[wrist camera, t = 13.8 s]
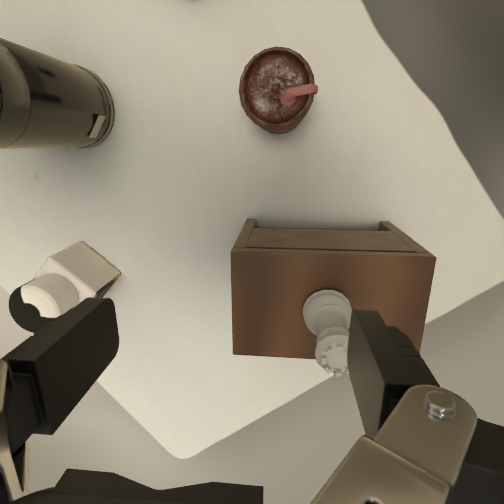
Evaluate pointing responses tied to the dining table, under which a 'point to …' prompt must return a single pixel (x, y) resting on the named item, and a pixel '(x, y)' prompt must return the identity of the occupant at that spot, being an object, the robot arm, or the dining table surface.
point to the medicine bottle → (61, 286)
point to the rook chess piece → (329, 328)
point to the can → (277, 89)
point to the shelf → (323, 283)
